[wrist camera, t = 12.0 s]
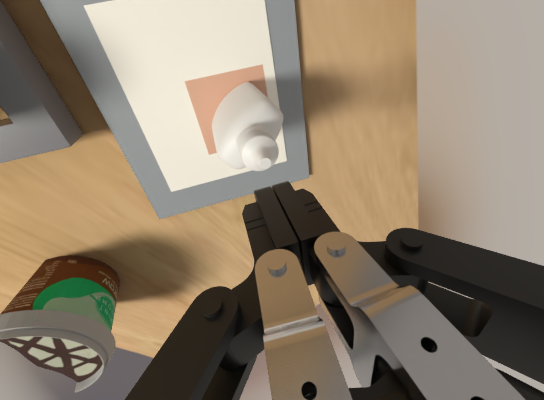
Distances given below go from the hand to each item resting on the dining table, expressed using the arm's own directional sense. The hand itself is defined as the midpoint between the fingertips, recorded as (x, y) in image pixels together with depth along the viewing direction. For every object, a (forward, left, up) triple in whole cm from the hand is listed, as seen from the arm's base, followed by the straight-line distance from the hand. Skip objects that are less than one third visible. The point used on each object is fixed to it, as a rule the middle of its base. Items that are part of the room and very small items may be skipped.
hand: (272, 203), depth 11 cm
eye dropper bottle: (0, +1, -16) cm, 16 cm away
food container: (+16, -21, -17) cm, 31 cm away
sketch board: (-1, -2, -17) cm, 17 cm away
